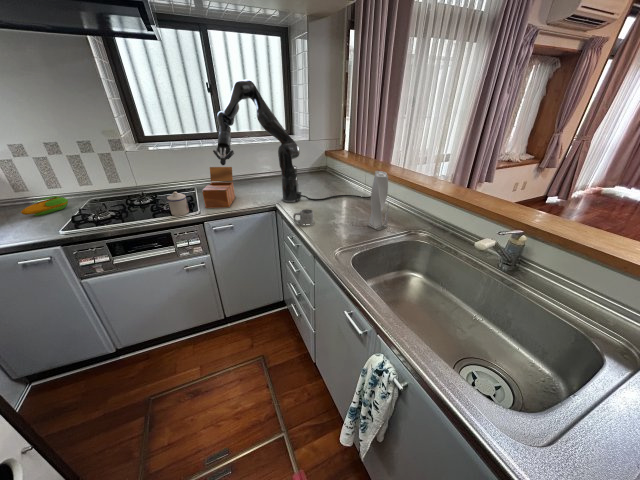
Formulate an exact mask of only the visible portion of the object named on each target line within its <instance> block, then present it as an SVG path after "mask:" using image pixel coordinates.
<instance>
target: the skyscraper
mask: <svg viewBox="0 0 640 480" xmlns="http://www.w3.org/2000/svg"><path fill="white" fill-rule="evenodd" d="M388 193H389V175H388V172H385V171H382V170H375V171H374V178H373V180H372V185H371V191H370V196H371V198H370V209H371V210H370V211H371V212H370V215H369V219H368V223H370V224H371V225H373V226H374V227H373V226H371V225H370V224H368V223H367V227H369V228H371V229H373V230H375V231H377V232H379V231H382V230H385V229H387V228H389V226H388V223H389V216H390V215H389V214H390V211H389V209H390V203H389V202H388V204H387V206H386V211H385V216H384V219H383V209H384V207H385V205H386V201H387V198H388ZM383 221H384V222H383ZM382 224H383V225H382ZM378 225H381V226H378ZM384 225H387V226H384ZM375 226H378V227H376V228H375Z"/></svg>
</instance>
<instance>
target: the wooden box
mask: <svg viewBox="0 0 640 480" xmlns="http://www.w3.org/2000/svg"><path fill="white" fill-rule="evenodd" d="M201 192H202V197H203V203H204V207H205V208H206V209H220V208H221V209H222V208H223V209H225V208H230V207H231V205H232V204H233V202H234V201H235V199H236V192H235V187H234V181H213V182H210V183H209V184H208V185H205V186H204V188H203V189H202V190H201Z"/></svg>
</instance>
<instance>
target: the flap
mask: <svg viewBox="0 0 640 480" xmlns="http://www.w3.org/2000/svg"><path fill="white" fill-rule="evenodd" d="M209 177H210V182H234V178H233V167H232V166H209Z"/></svg>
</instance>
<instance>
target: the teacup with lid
mask: <svg viewBox="0 0 640 480" xmlns="http://www.w3.org/2000/svg"><path fill="white" fill-rule="evenodd" d="M166 200H167V202H168V207H169V210H170V213H171V215H172V216H175V217H180V216H185V215H187V214H189V212H190V208H189V205H188V200H187V196H186V195H185V194H184V193H179V192H177V191H173V192H172V194H170V195H169V196H167V197H166Z"/></svg>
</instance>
